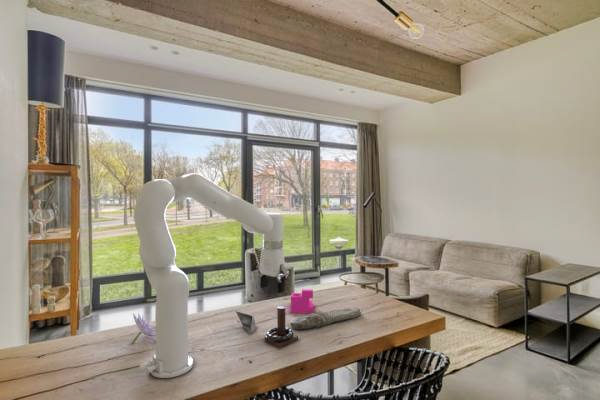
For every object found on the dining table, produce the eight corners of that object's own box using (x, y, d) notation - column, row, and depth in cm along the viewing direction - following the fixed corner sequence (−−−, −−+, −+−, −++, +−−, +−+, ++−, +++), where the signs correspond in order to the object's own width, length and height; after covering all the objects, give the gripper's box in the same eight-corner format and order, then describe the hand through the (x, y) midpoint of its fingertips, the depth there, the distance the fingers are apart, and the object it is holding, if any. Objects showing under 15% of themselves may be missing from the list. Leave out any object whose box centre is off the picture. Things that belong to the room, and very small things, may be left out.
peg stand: (280, 348, 114) (280, 313, 114) (264, 340, 121) (264, 307, 120) (298, 340, 121) (298, 307, 121) (282, 333, 127) (281, 301, 127)
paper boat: (265, 326, 131) (250, 327, 124) (256, 338, 132) (241, 340, 124) (249, 305, 138) (234, 305, 131) (241, 316, 139) (226, 317, 131)
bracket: (313, 313, 149) (312, 291, 148) (290, 313, 149) (290, 291, 149) (312, 304, 161) (312, 283, 160) (291, 304, 161) (291, 283, 161)
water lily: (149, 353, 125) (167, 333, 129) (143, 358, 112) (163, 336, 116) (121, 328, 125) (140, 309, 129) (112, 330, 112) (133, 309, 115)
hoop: (278, 344, 114) (278, 340, 114) (260, 336, 121) (260, 331, 121) (298, 335, 121) (298, 331, 121) (280, 328, 128) (280, 324, 128)
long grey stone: (366, 320, 142) (352, 314, 151) (366, 308, 142) (352, 303, 151) (297, 332, 126) (286, 325, 134) (297, 319, 126) (286, 312, 135)
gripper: (251, 243, 127) (250, 287, 126) (280, 248, 114) (280, 296, 114) (266, 242, 132) (265, 283, 132) (295, 246, 120) (295, 292, 120)
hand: (272, 289), depth 123 cm, fingers open, 9 cm apart
